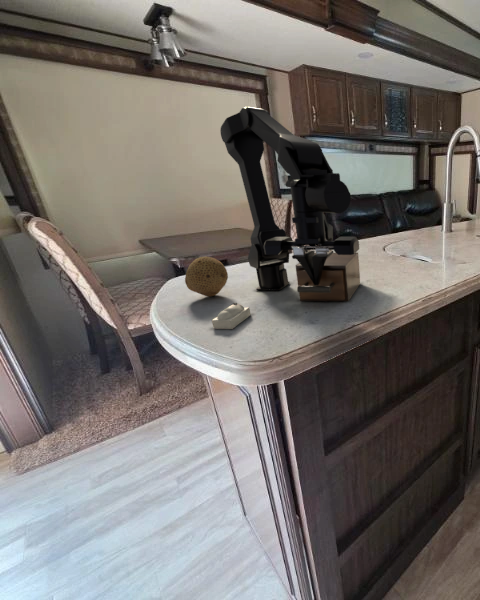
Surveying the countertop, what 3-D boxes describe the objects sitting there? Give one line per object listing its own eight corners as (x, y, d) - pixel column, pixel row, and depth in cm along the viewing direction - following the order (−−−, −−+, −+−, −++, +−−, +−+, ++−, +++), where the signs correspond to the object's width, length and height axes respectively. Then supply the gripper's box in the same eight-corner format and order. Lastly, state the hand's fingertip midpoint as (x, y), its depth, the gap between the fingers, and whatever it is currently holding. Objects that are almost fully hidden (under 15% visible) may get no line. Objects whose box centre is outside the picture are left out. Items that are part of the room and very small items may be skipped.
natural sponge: (236, 296, 78) (228, 257, 74) (195, 306, 72) (183, 263, 69) (226, 288, 84) (218, 251, 80) (187, 296, 78) (177, 257, 75)
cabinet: (348, 301, 73) (345, 265, 70) (300, 300, 74) (295, 265, 71) (360, 283, 86) (358, 252, 83) (318, 283, 87) (315, 252, 84)
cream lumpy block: (232, 329, 60) (228, 313, 59) (213, 328, 61) (209, 312, 60) (250, 315, 67) (248, 300, 66) (233, 314, 67) (230, 300, 66)
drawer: (338, 307, 68) (336, 277, 65) (291, 306, 68) (287, 276, 66) (356, 283, 84) (354, 257, 81) (317, 282, 84) (315, 257, 82)
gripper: (362, 207, 70) (365, 274, 76) (281, 208, 72) (290, 274, 77) (350, 211, 60) (355, 289, 65) (256, 212, 61) (269, 288, 67)
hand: (317, 284), depth 69 cm, fingers closed
